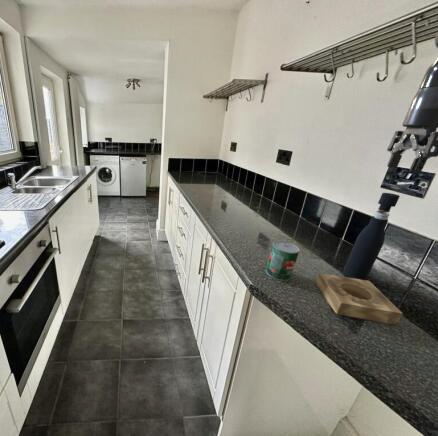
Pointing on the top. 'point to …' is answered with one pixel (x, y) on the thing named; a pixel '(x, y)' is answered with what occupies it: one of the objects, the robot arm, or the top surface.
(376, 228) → the dark blue water bottle
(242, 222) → the top surface
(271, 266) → the canned tomato
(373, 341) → the top surface
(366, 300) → the hole plate
